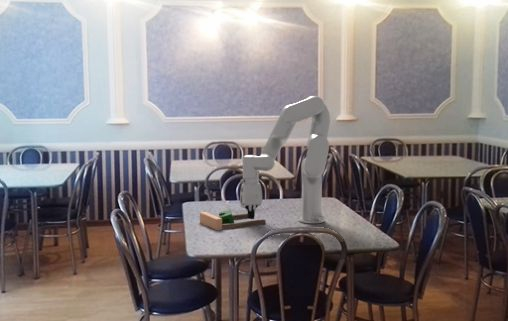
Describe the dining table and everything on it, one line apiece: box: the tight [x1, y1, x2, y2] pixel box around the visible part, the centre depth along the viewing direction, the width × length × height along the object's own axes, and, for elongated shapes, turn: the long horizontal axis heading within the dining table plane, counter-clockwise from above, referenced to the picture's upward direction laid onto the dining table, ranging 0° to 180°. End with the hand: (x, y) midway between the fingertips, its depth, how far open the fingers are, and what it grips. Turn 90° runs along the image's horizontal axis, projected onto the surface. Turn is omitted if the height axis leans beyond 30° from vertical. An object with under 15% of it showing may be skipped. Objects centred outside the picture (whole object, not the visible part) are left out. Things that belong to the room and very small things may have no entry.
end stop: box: [199, 211, 223, 231], centre depth 284 cm, size 18×3×5 cm, turn 29°
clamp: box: [218, 209, 235, 224], centre depth 288 cm, size 12×6×9 cm, turn 0°
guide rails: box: [218, 212, 267, 230], centre depth 290 cm, size 18×22×2 cm
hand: (251, 218), depth 294 cm, fingers closed
